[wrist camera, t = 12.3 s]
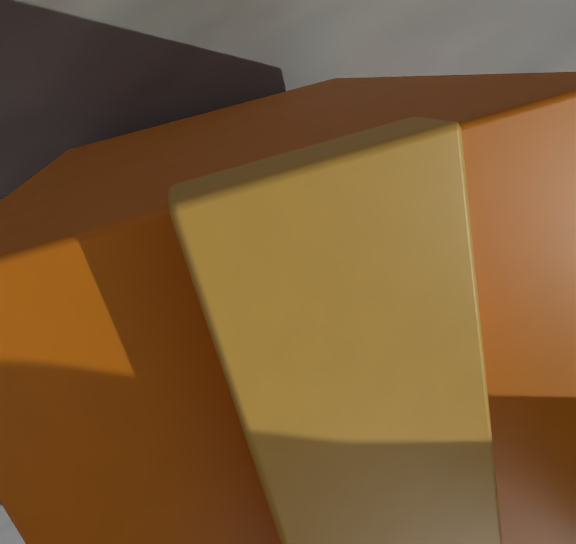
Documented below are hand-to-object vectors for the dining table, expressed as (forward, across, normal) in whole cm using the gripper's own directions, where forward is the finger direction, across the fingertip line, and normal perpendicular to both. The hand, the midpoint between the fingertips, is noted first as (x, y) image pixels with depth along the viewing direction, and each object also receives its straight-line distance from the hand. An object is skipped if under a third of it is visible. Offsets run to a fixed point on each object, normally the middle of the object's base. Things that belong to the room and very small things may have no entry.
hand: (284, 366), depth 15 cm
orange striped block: (+2, 0, 0) cm, 2 cm away
